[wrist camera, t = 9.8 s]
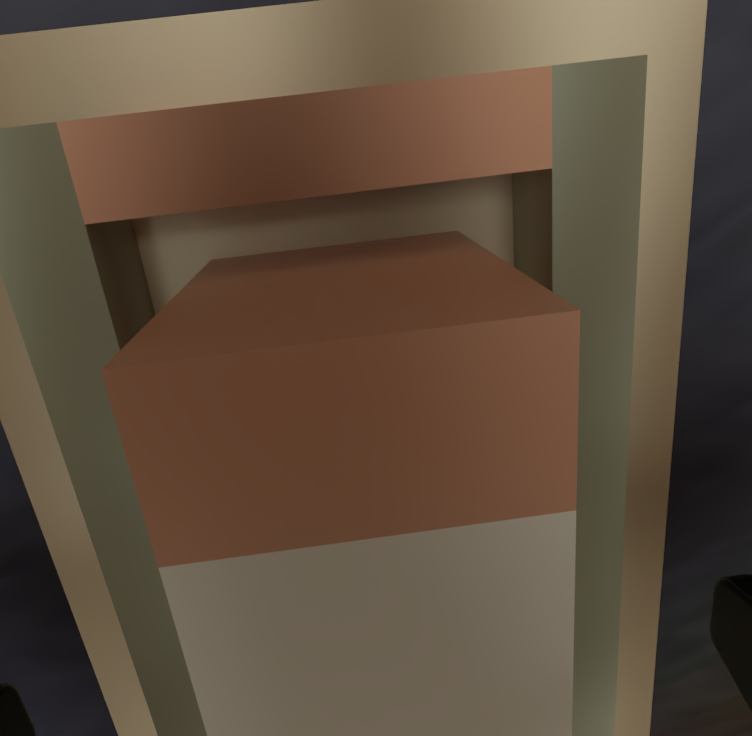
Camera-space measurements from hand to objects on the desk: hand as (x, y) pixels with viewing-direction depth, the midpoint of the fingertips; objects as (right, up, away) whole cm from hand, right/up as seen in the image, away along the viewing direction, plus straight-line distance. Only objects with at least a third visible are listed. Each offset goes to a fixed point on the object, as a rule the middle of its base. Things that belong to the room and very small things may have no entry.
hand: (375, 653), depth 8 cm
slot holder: (0, +2, +4) cm, 5 cm away
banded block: (0, +1, +4) cm, 4 cm away
